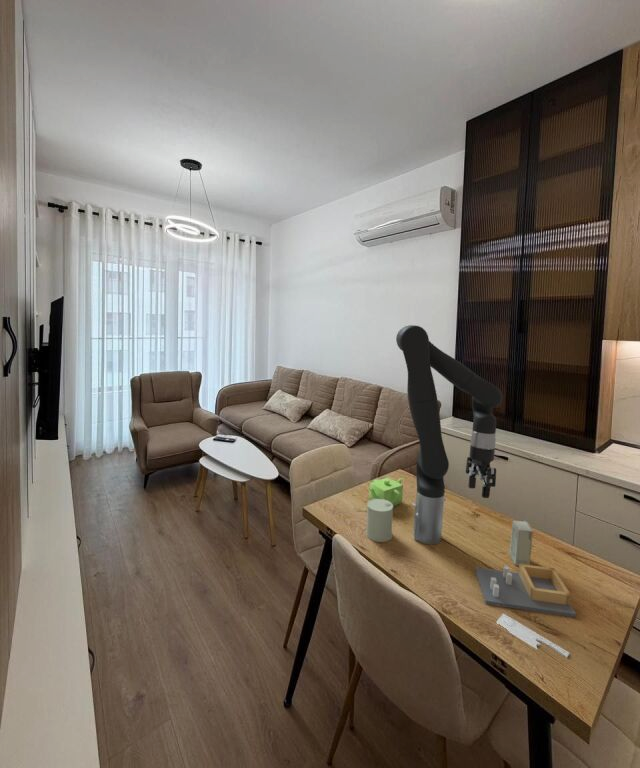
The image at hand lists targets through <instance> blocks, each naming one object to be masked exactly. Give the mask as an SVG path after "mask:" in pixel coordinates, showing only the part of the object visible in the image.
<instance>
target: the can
mask: <svg viewBox="0 0 640 768" xmlns="http://www.w3.org/2000/svg"><path fill="white" fill-rule="evenodd" d="M366 505H367V507H366V530H365V534H366V537H367V538H368V539H370V540H371V541H373V542H377V543H383V542H384V543H385V542H389V541H390V540H391V539H392V537H393V533H392V530H393V510H394V506H393V504H392V503H391V502H389V501H387V500H384V499H372V500H370V501H369V500H368V501H367V503H366Z"/></svg>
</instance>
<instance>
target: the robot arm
mask: <svg viewBox="0 0 640 768" xmlns="http://www.w3.org/2000/svg"><path fill="white" fill-rule="evenodd" d="M396 345H397V347H398V349H399V350H400V351H402V353H403V357H404V361H405V364H406V368H407V384H406V385H407V387H406V388H407V401H408V406H409V411H410V415H411V419H412V423H413V427H414V428H415V431H416V434H417V437H418V441H419V446H420V447H419V448H420V449H419V451H418V452H417V453H418V454H417V458H416V475H415V476H416V478H415V479H416V498H415V499H416V500H415V502H416V506H414V522H413V537H414V538H413V539H414V540H415V541H418V542H420V543H422V544H426V545H437V544H439V543H440V542H441V540H442V533H443V532H442V531H443V518H444V517H443V516H444V502H445V500H444V498H445V492H446V491H445V489H446V486H445V480H444V476H446V474H447V473H448V471H449V468H450V467H449V466H450V464H449V458H448V455H447V451H446V449H445V444H444V441H443V440H444V439H443V437H442V425H441V416H440V407H439V402H438V396H437V390H436V385H435V379H434V376H433V373H432V369H433V370H435V372H437V373H438V374H439V375H440V376H442V377H443V378H444V379H445V380H447V381H448V382H449V383H450V384H452V386H455V388H457V389H458V390H460V391H461V392H464V393H466V394H469V395H470V396H471V409H472V415H473V420H472V421H473V422H472V430H471V431H472V432H471V436H470V446H469V454H468V455H469V456H468V457H467V459H466V463H465V464H466V465H465V473H466V475H467V477H468V485H467V486H468V488H469V489H476V484H477V477H479V479H480V480H481V482H482V488H481V489H482V490H481V497H482V498H484V499H489V498H490V493H491V487H493V488H495V487H496V484H497V483H496V481H497V479H496V478H497V468H496V467H491V462H494V460H495V454H496V453H495V452H496V449H495V448H496V442H497V441H496V439H497V438H496V430H497V417H496V416H495V415H494V413H493V409H494V408H498V407H499V406H500V405H501V404H502V402H503V399H504V396H503V393H502V391H501V390H500V389H499V388H498V387H497V386H496V385H494V384H493V383H491V382H489V381H488V380H486V379H484V378H483V377H481V376H479V375H477V374H476V373H475V372H474V371H472V370H471V369H470V368H468V367H467V366H466V365H465V364H463V363H462V362H461V361H458V360H457V359H455V358H454V357H452V356H451V355H449V354H447V353H446V352H444V351H443V350H441V349H439V348H438V347H437V346H435V344H434V343H432V342H431V341H430V338H429V335H428V332H427V331H426V330H425V329H424V328H423V327H422V326H420V325H414V324H413V325H411V324H410V325H405V326H404V327H402V328H400V329H399V330H398V332H397V334H396Z"/></svg>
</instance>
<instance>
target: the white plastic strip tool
mask: <svg viewBox="0 0 640 768" xmlns="http://www.w3.org/2000/svg"><path fill="white" fill-rule="evenodd" d="M496 623H497V624H500V625H501V626H503V627H504V628H506V629H507V630H508V631H509V632H508V631H507V632H508V633H510V634H511V635H513V636H514V637H516V638H518V639H520V640H521V641H523V642H524V643H526V644H528V645H529V646H531V647H533V648H534V649H535V650H538V647H541V645H542V644H543V645H545V646H547V647H549V648H550V649H552V650H554V651H555V652H557V654H560V655H561V656H562V657H564V658H566V659H568V657H569V655H570V652H569V651H567V650H565V649H564V648H563V647H561V646H559V645H557V644H556V643H553V642H552V641H550V640H549V639H547V638H545V637H543V636H542V635H541V634H538V633H537V632H535V631H534V630H533V629H530V628H529V627H527V626H525V624H522V623H520V622H519V621H517V620H516V619H514V618H512V617H510V616H508V615H507V614H505V613H502V615H500V617H499V618H498V619H497V621H496ZM496 623H495V624H496ZM497 624H496V625H497ZM541 643H542V644H541ZM537 646H538V647H537Z"/></svg>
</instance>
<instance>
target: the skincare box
mask: <svg viewBox="0 0 640 768" xmlns="http://www.w3.org/2000/svg"><path fill="white" fill-rule="evenodd" d="M511 526H512V528H511V537H510V547H509V557H510V558H511V559H512V562H513V564H514V565H515V566H518V567H519V564H523V565H531V564H530V563H531V555H532V547H533V539H534V538H533V535H534V530H533V528H532V527H531V525H530V524H529V523H528V522H527V521H523V520H522V521H521V520H512V525H511Z"/></svg>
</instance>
